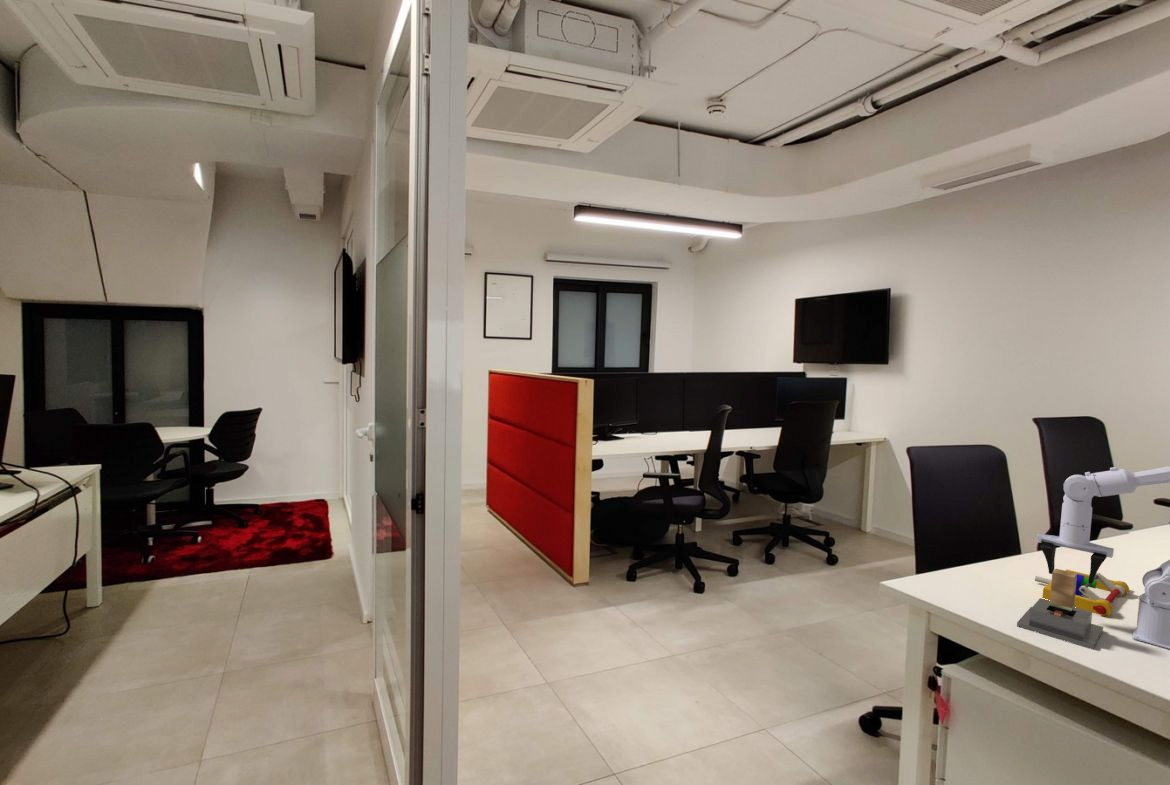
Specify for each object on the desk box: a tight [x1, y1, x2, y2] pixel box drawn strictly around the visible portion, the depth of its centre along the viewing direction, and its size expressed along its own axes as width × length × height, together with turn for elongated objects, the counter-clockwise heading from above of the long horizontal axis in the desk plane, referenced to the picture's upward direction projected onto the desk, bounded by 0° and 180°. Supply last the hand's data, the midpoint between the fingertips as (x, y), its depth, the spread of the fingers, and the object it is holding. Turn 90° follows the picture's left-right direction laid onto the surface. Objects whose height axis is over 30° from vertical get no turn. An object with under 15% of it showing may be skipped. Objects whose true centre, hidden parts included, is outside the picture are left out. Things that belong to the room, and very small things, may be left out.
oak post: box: [1049, 568, 1077, 611], centre depth 139 cm, size 4×4×8 cm
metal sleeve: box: [1016, 597, 1104, 650], centre depth 140 cm, size 14×14×5 cm
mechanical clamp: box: [1034, 569, 1130, 618], centre depth 163 cm, size 18×6×30 cm
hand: (1070, 577), depth 145 cm, fingers open, 7 cm apart
